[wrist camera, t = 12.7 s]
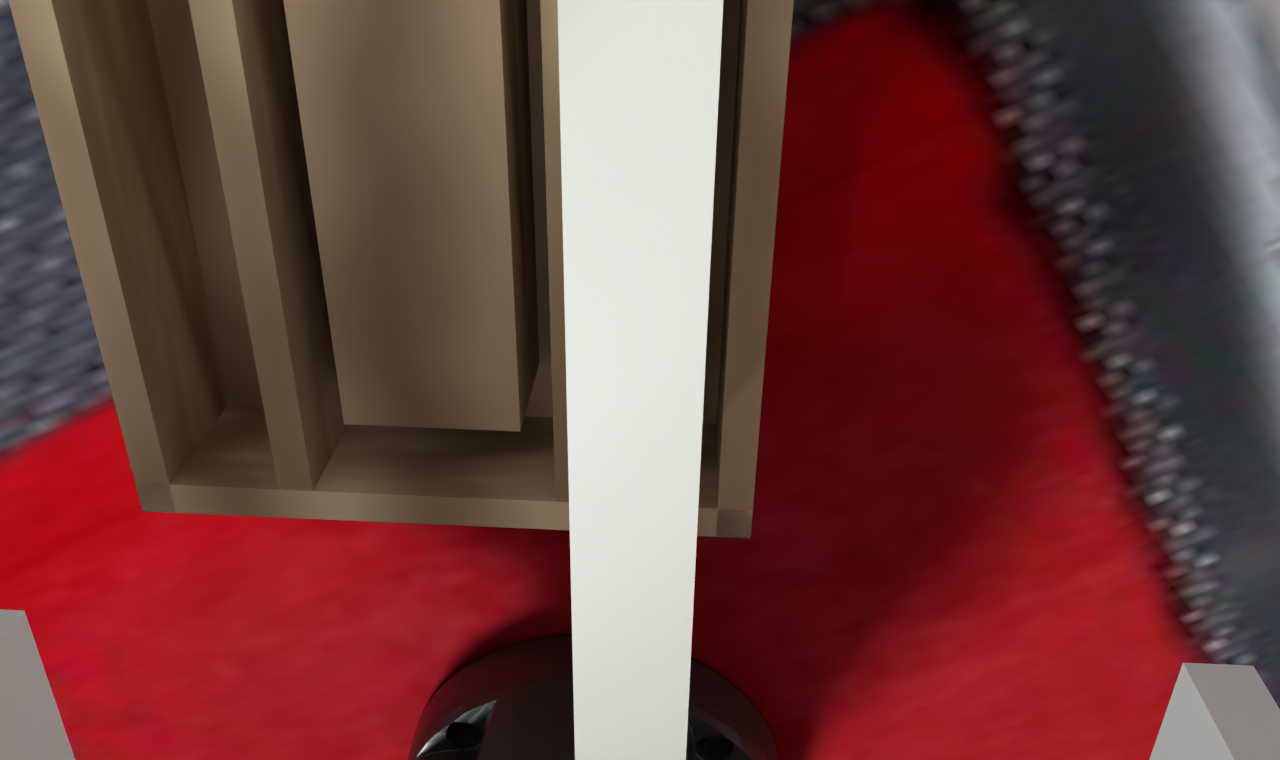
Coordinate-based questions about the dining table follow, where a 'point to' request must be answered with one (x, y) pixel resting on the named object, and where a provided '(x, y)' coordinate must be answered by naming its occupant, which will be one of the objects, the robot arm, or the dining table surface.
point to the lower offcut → (527, 183)
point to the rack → (293, 281)
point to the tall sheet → (635, 354)
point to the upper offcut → (417, 206)
